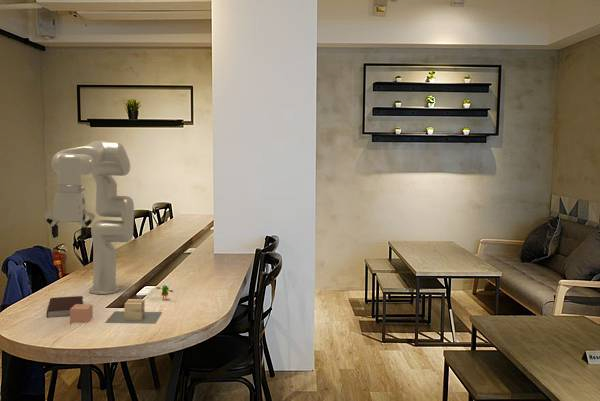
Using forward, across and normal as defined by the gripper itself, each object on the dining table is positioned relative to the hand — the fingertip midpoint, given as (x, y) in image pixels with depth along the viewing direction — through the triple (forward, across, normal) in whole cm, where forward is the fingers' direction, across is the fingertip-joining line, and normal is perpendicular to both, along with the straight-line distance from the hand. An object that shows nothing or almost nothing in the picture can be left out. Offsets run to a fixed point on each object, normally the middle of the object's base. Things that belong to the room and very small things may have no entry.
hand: (69, 237), depth 192 cm
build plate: (+31, -22, -5) cm, 39 cm away
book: (+32, +7, -17) cm, 37 cm away
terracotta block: (+31, -4, -1) cm, 32 cm away
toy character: (+32, -29, -33) cm, 54 cm away
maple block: (+30, -22, -5) cm, 38 cm away
